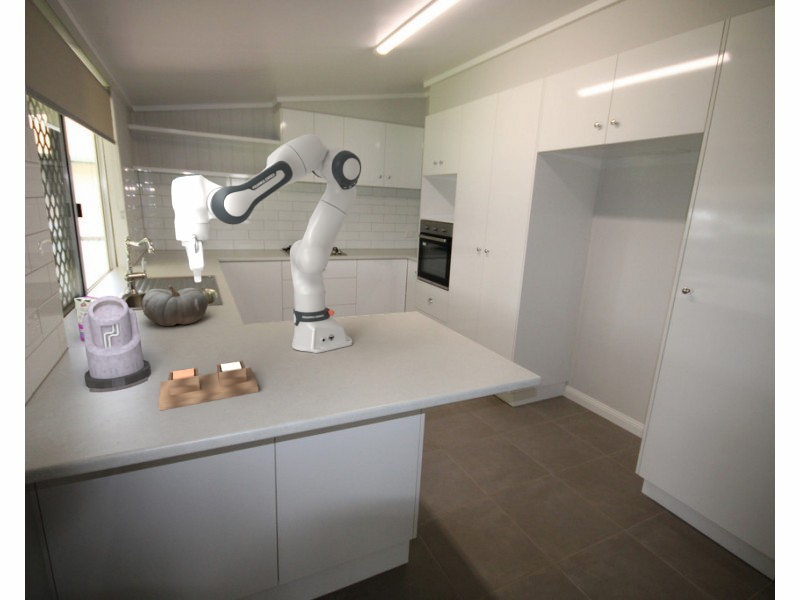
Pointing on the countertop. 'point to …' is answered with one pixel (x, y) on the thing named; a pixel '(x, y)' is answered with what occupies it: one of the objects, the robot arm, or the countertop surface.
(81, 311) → the candy bar box
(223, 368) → the ivory key
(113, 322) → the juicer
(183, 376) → the terracotta key
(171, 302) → the gourd
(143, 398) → the countertop surface
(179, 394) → the key panel
